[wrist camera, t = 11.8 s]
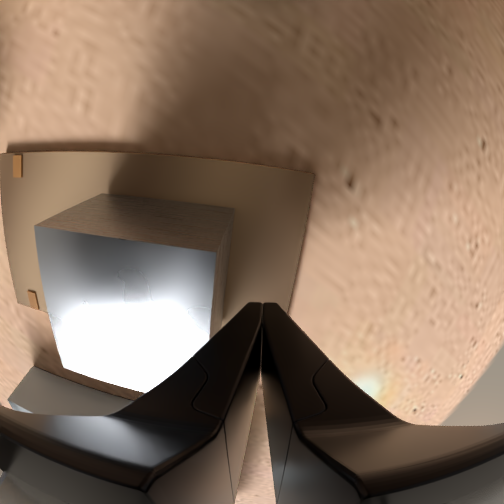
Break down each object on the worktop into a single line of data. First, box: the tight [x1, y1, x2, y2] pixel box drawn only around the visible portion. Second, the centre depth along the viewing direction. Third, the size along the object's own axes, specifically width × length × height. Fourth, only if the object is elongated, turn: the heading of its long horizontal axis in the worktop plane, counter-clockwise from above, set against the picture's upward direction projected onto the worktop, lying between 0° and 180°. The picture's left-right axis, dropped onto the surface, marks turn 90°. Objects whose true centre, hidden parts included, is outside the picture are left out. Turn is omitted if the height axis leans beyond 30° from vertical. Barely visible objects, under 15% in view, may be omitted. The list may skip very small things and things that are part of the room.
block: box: [34, 193, 235, 393], centre depth 9 cm, size 5×5×4 cm
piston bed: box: [0, 151, 315, 351], centre depth 12 cm, size 14×8×1 cm, turn 82°
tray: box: [8, 366, 133, 416], centre depth 16 cm, size 14×13×4 cm
